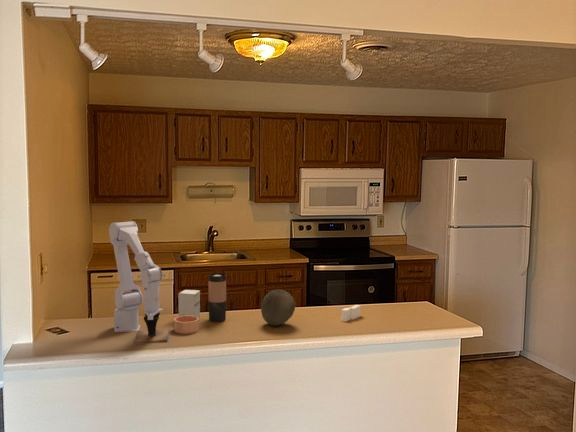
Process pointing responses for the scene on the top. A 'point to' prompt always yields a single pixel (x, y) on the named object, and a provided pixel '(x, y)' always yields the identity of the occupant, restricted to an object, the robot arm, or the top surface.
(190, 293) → the supplement box
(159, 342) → the slate mat
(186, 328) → the terracotta bowl
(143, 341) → the walnut cover
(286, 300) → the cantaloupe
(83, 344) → the top surface
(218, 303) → the travel mug
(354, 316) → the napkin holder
